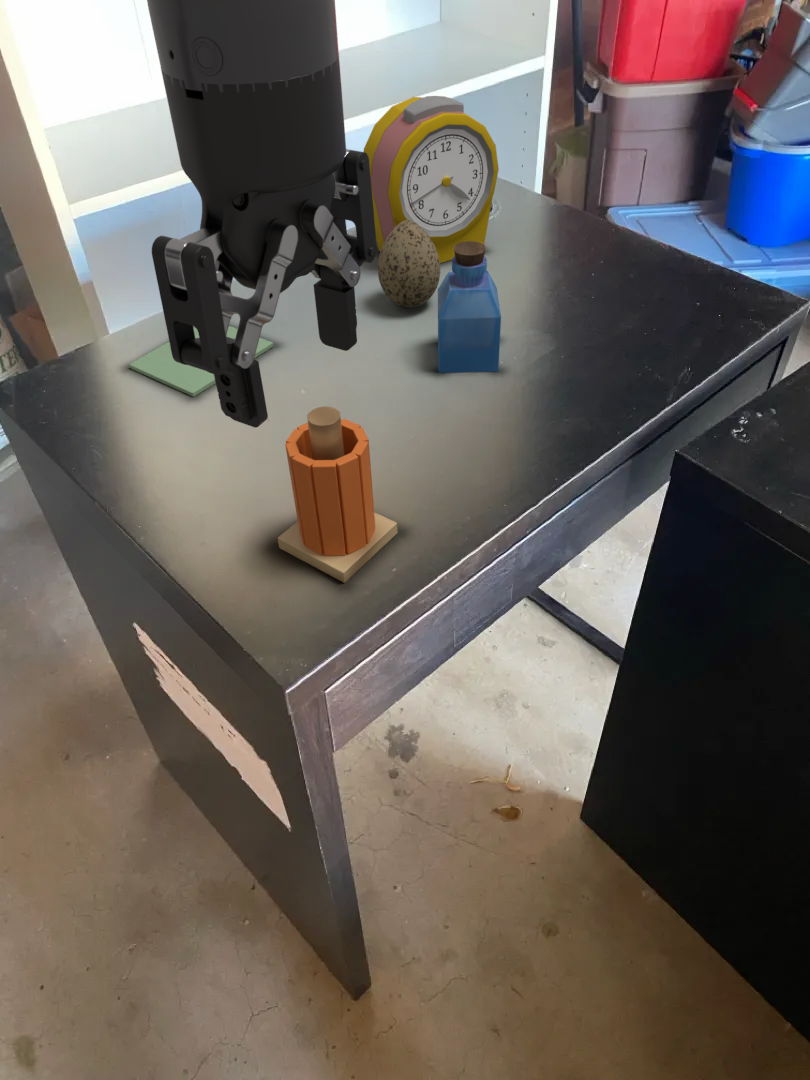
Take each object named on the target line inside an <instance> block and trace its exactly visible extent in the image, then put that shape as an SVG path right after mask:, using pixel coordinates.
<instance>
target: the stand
mask: <svg viewBox="0 0 810 1080" xmlns="http://www.w3.org/2000/svg"><path fill="white" fill-rule="evenodd" d="M341 417H342V416H341V412H340V411H339V410H338V409H337V408H336V407H332V406H319V407H315V408H313V409H311V410H310V411H309V412H308V414H307V417H306V419H307V423H308V427H309V434H310V442H311V449H312V456H313V460H336V459H338V458H340V457H342V456H345V455H344V445H343V435H342V426H341V420H342V418H341ZM374 516H375V532H374V533H373V535H372V537H371V539H370V541H369V543H368V544H367V543H366V546H364V547H362V548H360V549H358V550H357V551H355V552H353V553H351V554H348V553H347V552H346V555H338V556H325V555H324V553H323V554H322V555H321V554H319V553H317V552H315V551H313V550H311V549H309V548H307V547H306V545H304V544H303V541H302V538H301V535H300V531H299V525H298V520H297V521H296V522H294V524H292V525H291V526H290V527H288V529H286V530H285V531H284V532H283V533H281V534H280V535H279V536H277V542H278V548H279V549H280V550H282V551H283V552H285V553H288V554H290V555H292V556H293V557H294V558H297V559H298V560H301V561H302V562H305V564H308V565H310V566H311V567H314V568H315V569H318V570H319V571H321V572H323V573H324V574H327V575H328V576H330V577H332V578H334V579H336V580H337V581H341V582H342V583H344V584H346V582H348V581H349V580H350V579H351V577H353V576H354V575H355V574H356V573H357V572H358V571H360V569H361V568H362V567H363V566H364V565H366V563H368V562H369V561H370V560H371V559H372V558H373V557H374V556H375V555H376V554H377V553H378V552H379V551H380V550H382V549H383V547H385V545H387V544H388V543H389V542H390V541H391V540H393V538H394V537H396V536H397V534H398V523H397V522H396V521H394V520H392V519H390V518H388V517H386V516H383V515H381V514H379V513H377V512H375V511H374Z"/></svg>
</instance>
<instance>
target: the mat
mask: <svg viewBox="0 0 810 1080" xmlns="http://www.w3.org/2000/svg"><path fill="white" fill-rule="evenodd" d="M193 328H194V334H195V338H199V333H198V330H197V329H196V328H195V327H194V326H193ZM237 330H238V328H236V327H234V326H231V325H229V327H228V331H227V335H226V337H229V338H233V339H235V338H236V334H237ZM272 348H274V342H272V341H270V340H267V339H265V338H262V337H260V338H259V342H258V346H257V350H256V354H255V357H254V359H256V358H258V357H259V356H261V355H262V354H264V353H266V352H268V351H269V350H270V349H272ZM128 367H129V368H130V369H131V370H133V371H135V372H138V373H139V374H142V375H144V376H147V377H149V378H150V379H153V380H155V381H157V382H160V383H162V384H163V385H166V386H168V387H171V388H173V389H174V390H177V391H179V392H182V393H184V394H186V395H189V396H190V397H193V398H195V397H196V396H198V395H199V394H201V393H203V392H204V391H206V390H207V389H209V388H211V387H212V386H214V385H216V382H215V378H214V374H212V373H209V372H207V371H205V370H202V369H199V368H196V367H192V366H189V365H184V364H181V363H178V362H176V361H175V360H174V359H173V356H172V352H171V347H170V342H169V341H168V342H166V343H164V344H162V345H161V346H158V347H157V348H155V349H154V350H152V351H150V352H148V353H146V354H145V355H142V356H141V357H139V358H137V359H136V360H134V361H132V362H131V363H129V364H128Z"/></svg>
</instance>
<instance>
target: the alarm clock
mask: <svg viewBox="0 0 810 1080" xmlns="http://www.w3.org/2000/svg"><path fill="white" fill-rule="evenodd" d="M464 107H465V106H464V103H463V102H461V101H459V100H457V99H455V98H452V97H448V96H443V95H427V96H424V97H421V96H412V97H410V98H408V99H405V100H403V101H401V102H399V103H397V104H394V105H392V106H391V107H390V108H389V109H388V110H387V111H386V112H385V113H384V114H383V115H382V116H381V117H380V118H379V120H378V121H377V122H376V123H375V124H374V125H373V128H372V130H371V132H370V134H369V136H368V138H367V141H366V143H365V145H364V147H363V152H365V153H367V155H368V157H369V165H370V176H371V188H372V199H373V210H374V221H375V232H376V243H377V251H379V252H381V249H382V246H383V244H384V242H385V240H386V239H387V237H388V236H389V234H390V233H391V231H392V230H393V229H394V228H395V227H396V226H397V225H398V224H399V223H401V222H402V221H405V220H411V221H414V222H416V223H417V224H418V225H419V226H420V227H421V228H422V229H423V230H424V231H425V232H426V233H427V234H428V235H429V237H430V238H431V240H432V242H433V244H434V246H435V248H436V251H437V253H438V257H439V262H440V264H442V263H446V262H448V261H452V259H453V257H454V256H455V253H454V246H455V245H456V244H458V243H461V242H466V241H474V242H479V243H482V244H484V245H485V242H486V237H487V231H488V225H489V220H490V214H491V208H492V203H493V197H494V195H495V189H496V185H497V180H498V175H499V170H500V167H499V160H498V154H497V146H496V145H497V144H496V143H495V142H494V140H493V138H492V136H491V134H490V133H489V131H488V129H487V127H486V125H484V124H482V123H481V122H479V121H478V120H476V119H475V118H473V117H472V116H470V115H469V114H467V113H465V111H464V109H465V108H464Z"/></svg>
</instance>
